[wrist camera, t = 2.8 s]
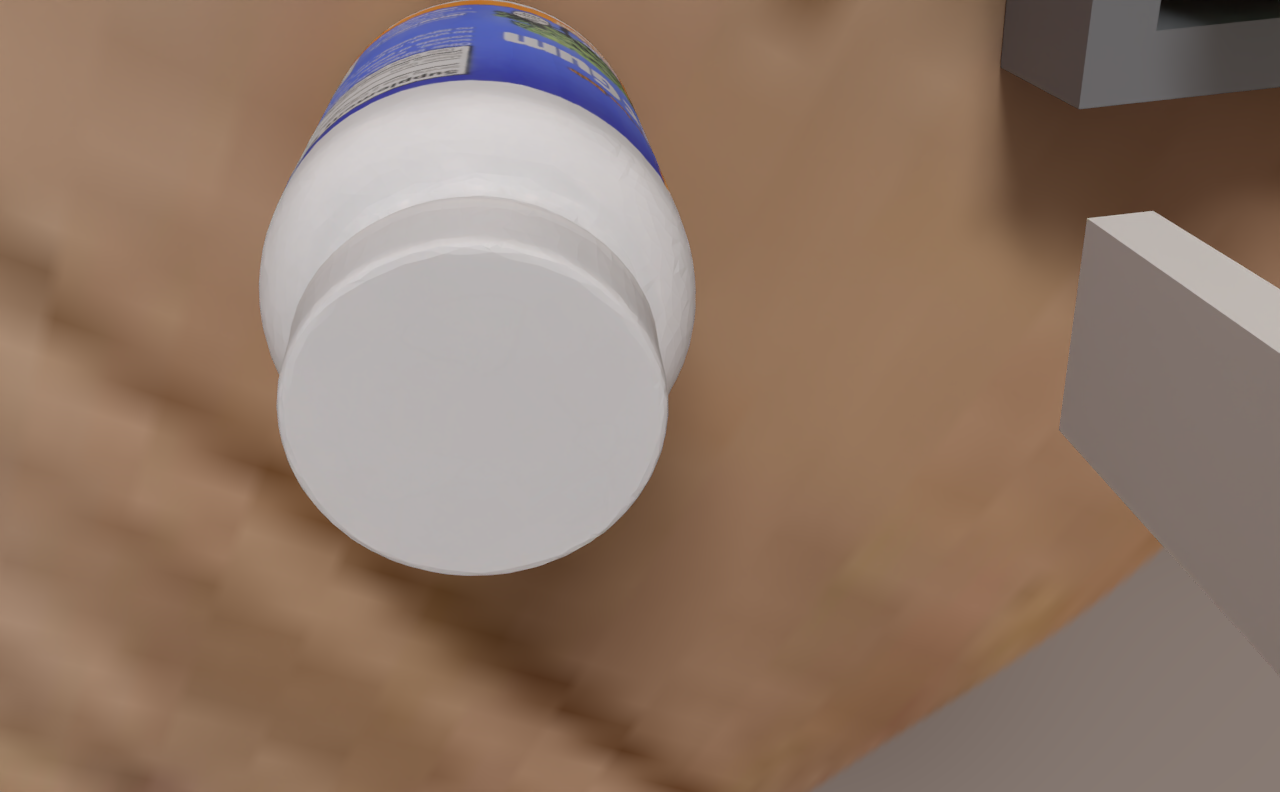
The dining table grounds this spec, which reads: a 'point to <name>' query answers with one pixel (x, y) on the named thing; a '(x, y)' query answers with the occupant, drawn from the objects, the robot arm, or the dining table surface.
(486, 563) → the pill bottle
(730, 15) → the dining table surface
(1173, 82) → the button housing
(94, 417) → the dining table surface
